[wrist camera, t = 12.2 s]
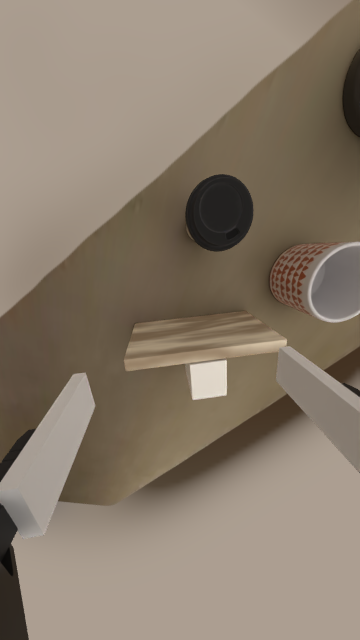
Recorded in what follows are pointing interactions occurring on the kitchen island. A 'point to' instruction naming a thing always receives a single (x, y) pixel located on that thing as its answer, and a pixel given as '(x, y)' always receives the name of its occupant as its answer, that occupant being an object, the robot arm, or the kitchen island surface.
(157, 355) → the wooden board
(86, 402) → the robot arm
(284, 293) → the planter
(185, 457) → the kitchen island surface
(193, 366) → the cabinet
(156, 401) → the kitchen island surface
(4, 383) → the kitchen island surface
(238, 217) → the coffee cup
